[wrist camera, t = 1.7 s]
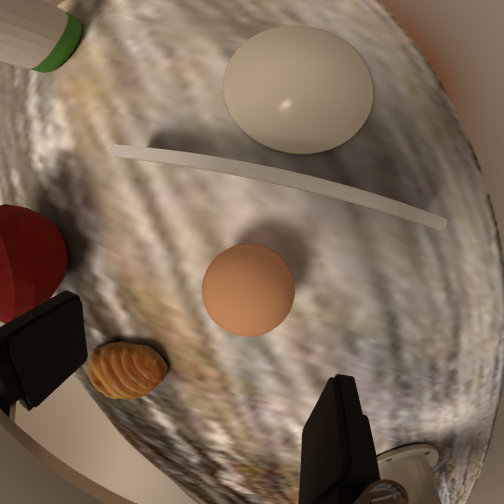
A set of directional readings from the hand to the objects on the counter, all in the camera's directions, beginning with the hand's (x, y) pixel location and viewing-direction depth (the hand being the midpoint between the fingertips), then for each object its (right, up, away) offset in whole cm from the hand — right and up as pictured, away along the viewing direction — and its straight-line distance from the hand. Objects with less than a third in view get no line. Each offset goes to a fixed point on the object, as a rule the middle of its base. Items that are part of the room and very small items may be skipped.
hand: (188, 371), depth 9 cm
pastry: (-11, -8, +17) cm, 22 cm away
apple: (-19, +4, +16) cm, 25 cm away
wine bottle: (-20, +28, +10) cm, 37 cm away
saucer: (+6, +16, +9) cm, 19 cm away
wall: (+4, +9, +10) cm, 14 cm away
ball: (+2, +2, +9) cm, 10 cm away
